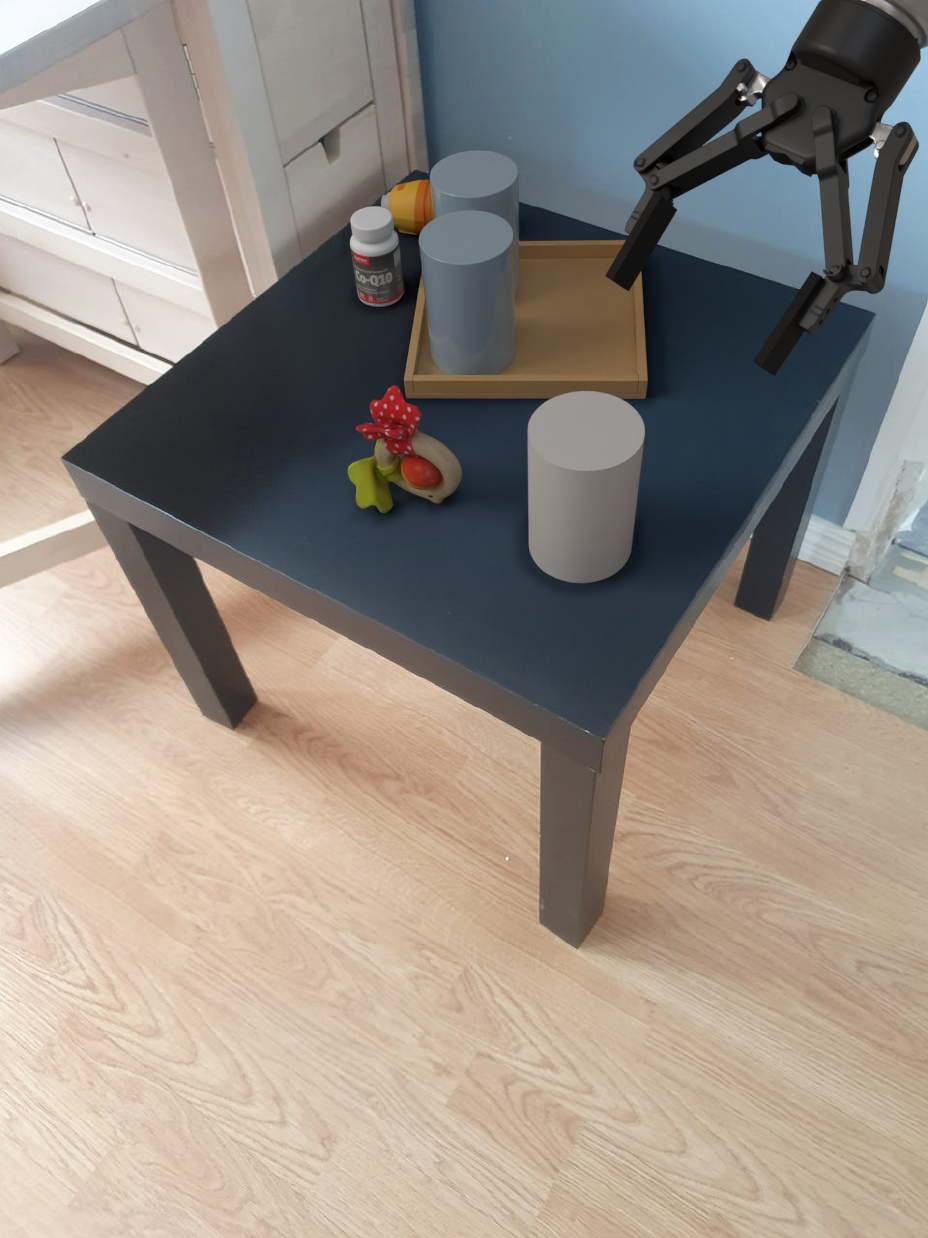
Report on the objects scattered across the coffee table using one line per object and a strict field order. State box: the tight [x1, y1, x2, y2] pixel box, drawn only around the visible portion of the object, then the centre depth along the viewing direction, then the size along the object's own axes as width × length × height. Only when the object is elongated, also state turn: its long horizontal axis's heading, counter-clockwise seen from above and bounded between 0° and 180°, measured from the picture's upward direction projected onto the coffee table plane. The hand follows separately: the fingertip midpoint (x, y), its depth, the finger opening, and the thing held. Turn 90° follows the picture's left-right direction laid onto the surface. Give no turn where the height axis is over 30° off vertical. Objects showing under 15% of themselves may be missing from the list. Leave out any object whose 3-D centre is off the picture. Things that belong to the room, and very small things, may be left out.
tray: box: [403, 239, 649, 400], centre depth 95 cm, size 22×22×2 cm
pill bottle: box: [349, 205, 405, 308], centre depth 97 cm, size 5×5×8 cm
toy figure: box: [380, 179, 434, 236], centre depth 104 cm, size 5×6×12 cm
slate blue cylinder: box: [418, 210, 516, 375], centre depth 88 cm, size 8×8×12 cm
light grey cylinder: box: [527, 391, 646, 584], centre depth 74 cm, size 8×8×12 cm
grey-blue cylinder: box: [429, 149, 520, 298], centre depth 94 cm, size 8×8×12 cm
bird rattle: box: [347, 384, 463, 514], centre depth 79 cm, size 6×11×9 cm
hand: (686, 324), depth 70 cm, fingers open, 13 cm apart
